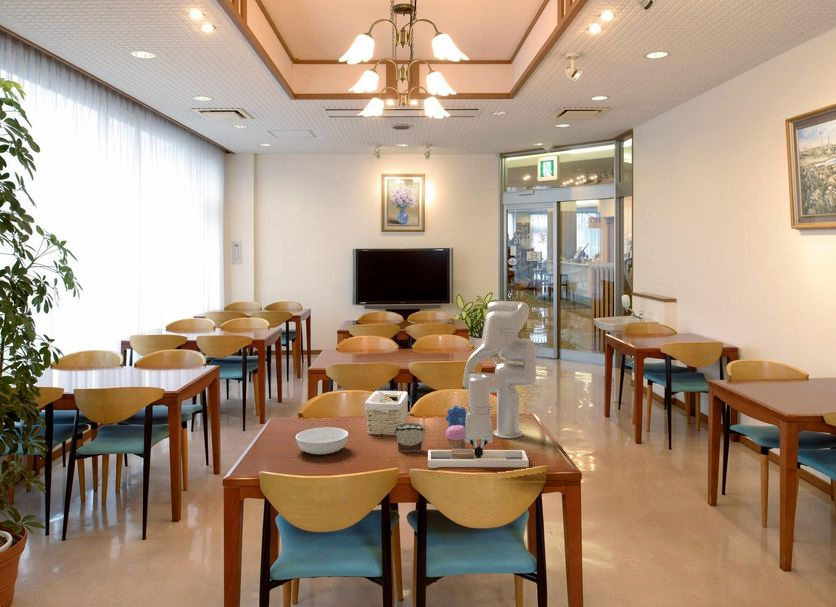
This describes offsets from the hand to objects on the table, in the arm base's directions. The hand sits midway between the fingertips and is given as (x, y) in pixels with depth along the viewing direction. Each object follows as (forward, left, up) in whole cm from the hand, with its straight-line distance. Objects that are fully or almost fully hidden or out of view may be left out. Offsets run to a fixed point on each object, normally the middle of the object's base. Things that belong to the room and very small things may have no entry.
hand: (478, 457), depth 242 cm
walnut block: (0, -6, -2) cm, 6 cm away
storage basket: (-47, -38, -3) cm, 60 cm away
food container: (-17, -27, -2) cm, 32 cm away
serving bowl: (-14, -62, -3) cm, 63 cm away
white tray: (0, -1, -2) cm, 2 cm away
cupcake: (-16, -8, -2) cm, 18 cm away
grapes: (-40, -6, -2) cm, 41 cm away
